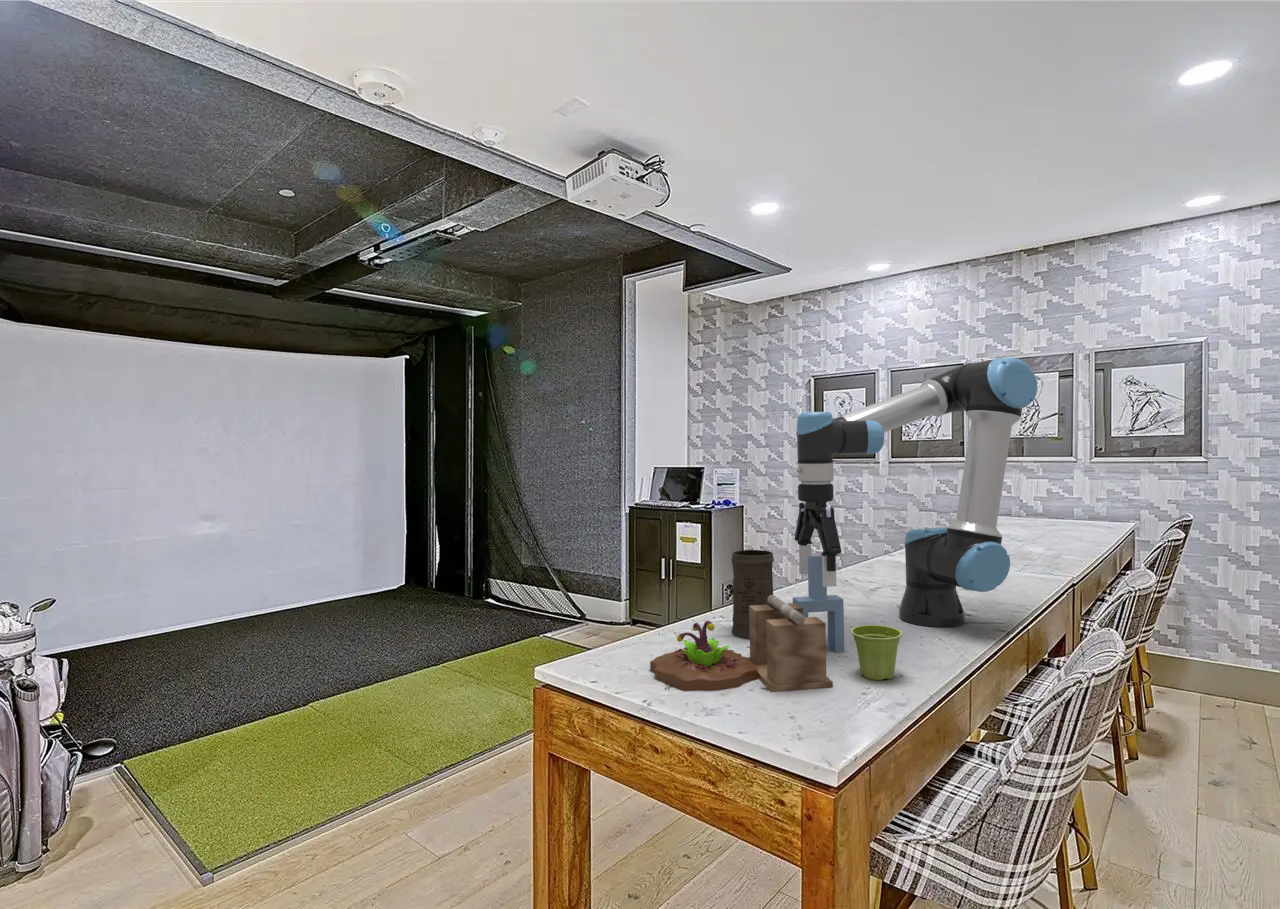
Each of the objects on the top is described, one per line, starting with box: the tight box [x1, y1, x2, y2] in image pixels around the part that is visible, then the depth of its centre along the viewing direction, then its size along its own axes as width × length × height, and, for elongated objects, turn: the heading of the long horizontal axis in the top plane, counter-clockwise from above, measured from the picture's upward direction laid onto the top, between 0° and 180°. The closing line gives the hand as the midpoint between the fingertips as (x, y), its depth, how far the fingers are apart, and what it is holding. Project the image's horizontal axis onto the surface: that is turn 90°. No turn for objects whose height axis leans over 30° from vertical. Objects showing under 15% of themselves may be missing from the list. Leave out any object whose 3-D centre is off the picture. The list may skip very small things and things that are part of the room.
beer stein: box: [731, 549, 775, 640], centre depth 166 cm, size 15×11×20 cm
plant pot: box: [850, 624, 903, 681], centre depth 133 cm, size 9×9×9 cm
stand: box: [746, 594, 834, 693], centre depth 135 cm, size 12×17×14 cm
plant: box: [649, 620, 759, 692], centre depth 137 cm, size 20×20×11 cm
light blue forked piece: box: [792, 555, 845, 653], centre depth 149 cm, size 10×4×20 cm, turn 97°
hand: (817, 579), depth 149 cm, fingers open, 13 cm apart
